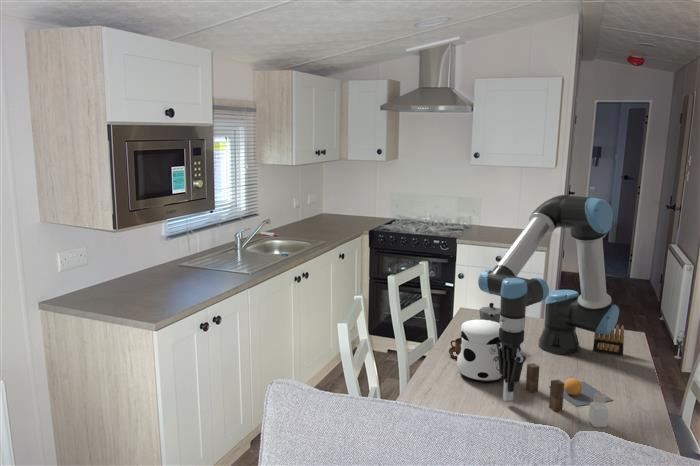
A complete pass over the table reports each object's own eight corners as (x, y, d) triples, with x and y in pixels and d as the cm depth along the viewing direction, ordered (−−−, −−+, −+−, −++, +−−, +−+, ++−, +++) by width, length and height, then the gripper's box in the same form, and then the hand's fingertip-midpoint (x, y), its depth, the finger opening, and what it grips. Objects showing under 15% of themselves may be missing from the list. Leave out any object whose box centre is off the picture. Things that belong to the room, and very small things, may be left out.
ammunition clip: (622, 354, 217) (625, 324, 215) (622, 355, 216) (625, 326, 213) (592, 349, 222) (595, 320, 219) (592, 351, 220) (595, 322, 218)
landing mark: (583, 381, 194) (583, 381, 194) (613, 400, 180) (613, 400, 180) (548, 387, 190) (548, 386, 190) (575, 406, 177) (576, 406, 177)
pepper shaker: (600, 421, 168) (603, 391, 166) (607, 428, 164) (610, 397, 162) (587, 421, 168) (590, 391, 166) (593, 428, 164) (596, 398, 162)
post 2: (556, 406, 177) (558, 379, 175) (562, 410, 174) (564, 383, 173) (549, 407, 176) (550, 380, 175) (554, 411, 174) (556, 384, 172)
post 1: (532, 388, 189) (534, 363, 187) (537, 391, 186) (539, 366, 185) (525, 389, 188) (527, 364, 187) (530, 393, 186) (532, 367, 184)
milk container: (514, 385, 191) (516, 335, 188) (464, 386, 190) (465, 336, 187) (497, 364, 208) (499, 317, 205) (451, 365, 207) (453, 319, 204)
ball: (562, 375, 185) (559, 391, 186) (573, 382, 180) (570, 398, 181) (575, 375, 187) (573, 390, 188) (587, 382, 182) (584, 398, 183)
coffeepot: (502, 353, 218) (504, 309, 215) (477, 351, 220) (479, 307, 217) (501, 339, 233) (503, 297, 230) (477, 337, 235) (479, 295, 232)
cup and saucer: (445, 360, 213) (446, 344, 212) (451, 348, 224) (452, 333, 223) (477, 364, 208) (478, 349, 207) (482, 352, 219) (483, 337, 218)
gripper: (490, 322, 178) (486, 391, 183) (512, 337, 166) (508, 410, 170) (510, 320, 180) (507, 388, 185) (534, 334, 168) (530, 407, 172)
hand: (507, 399), depth 177 cm, fingers closed
